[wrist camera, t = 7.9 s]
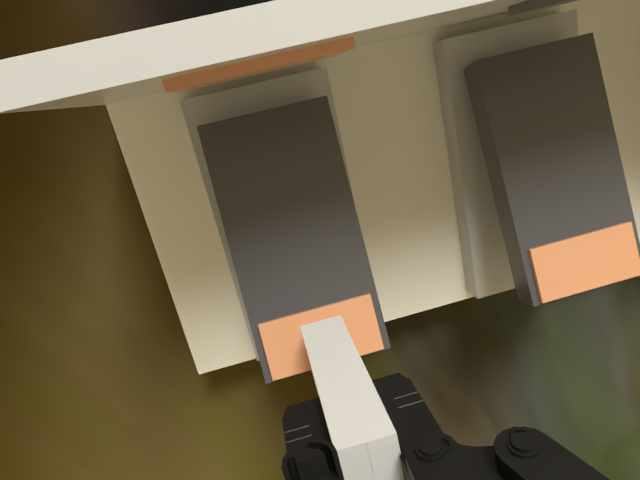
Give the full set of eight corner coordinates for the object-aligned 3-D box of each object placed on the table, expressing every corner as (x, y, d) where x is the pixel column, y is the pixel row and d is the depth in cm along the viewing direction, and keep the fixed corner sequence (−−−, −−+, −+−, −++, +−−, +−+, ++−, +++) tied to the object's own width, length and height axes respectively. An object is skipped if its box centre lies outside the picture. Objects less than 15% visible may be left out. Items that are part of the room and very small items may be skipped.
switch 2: (518, 302, 21) (536, 307, 20) (463, 69, 20) (477, 58, 19) (625, 271, 21) (650, 274, 20) (574, 43, 21) (596, 30, 20)
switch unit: (202, 345, 27) (175, 555, 15) (114, 81, 23) (-30, 66, 10) (754, 191, 30) (1114, 259, 18) (769, -67, 26) (1259, -214, 13)
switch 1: (265, 374, 20) (265, 385, 19) (201, 132, 19) (195, 125, 18) (383, 340, 20) (392, 349, 19) (323, 103, 20) (327, 93, 19)
